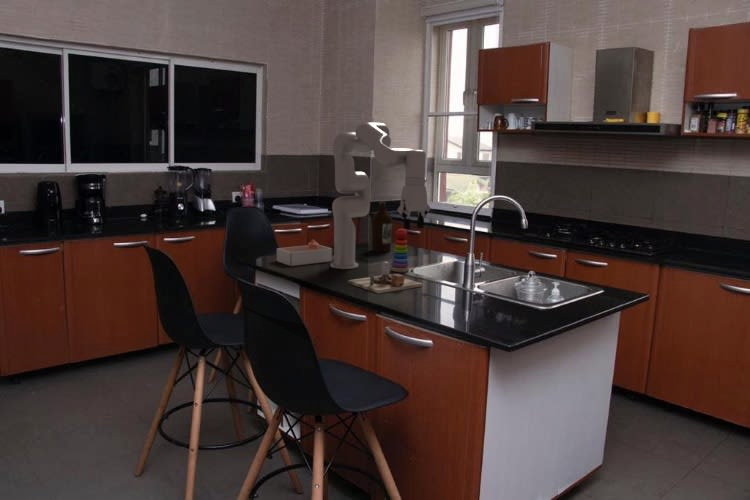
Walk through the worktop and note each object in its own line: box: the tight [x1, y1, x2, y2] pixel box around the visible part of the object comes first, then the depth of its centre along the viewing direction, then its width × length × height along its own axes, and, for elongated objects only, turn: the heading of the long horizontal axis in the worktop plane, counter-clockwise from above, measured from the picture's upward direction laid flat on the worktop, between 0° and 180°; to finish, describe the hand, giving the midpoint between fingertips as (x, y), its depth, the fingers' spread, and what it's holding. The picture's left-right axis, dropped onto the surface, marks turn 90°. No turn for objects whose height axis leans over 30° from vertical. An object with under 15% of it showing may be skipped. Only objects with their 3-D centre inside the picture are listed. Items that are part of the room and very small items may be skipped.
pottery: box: [291, 239, 320, 253], centre depth 307 cm, size 18×10×10 cm, turn 128°
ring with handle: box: [374, 273, 405, 286], centre depth 261 cm, size 15×9×4 cm, turn 37°
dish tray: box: [276, 244, 333, 267], centre depth 308 cm, size 13×22×6 cm, turn 127°
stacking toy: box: [390, 228, 410, 273], centre depth 290 cm, size 8×8×19 cm
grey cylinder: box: [369, 261, 390, 285], centre depth 261 cm, size 3×10×8 cm, turn 127°
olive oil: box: [371, 201, 393, 253], centre depth 337 cm, size 11×11×25 cm
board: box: [347, 273, 423, 294], centre depth 264 cm, size 20×22×1 cm
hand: (413, 227), depth 258 cm, fingers open, 5 cm apart
